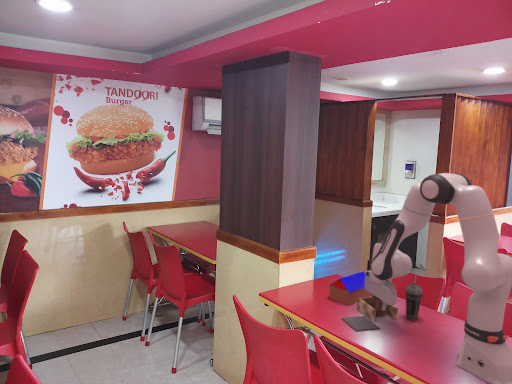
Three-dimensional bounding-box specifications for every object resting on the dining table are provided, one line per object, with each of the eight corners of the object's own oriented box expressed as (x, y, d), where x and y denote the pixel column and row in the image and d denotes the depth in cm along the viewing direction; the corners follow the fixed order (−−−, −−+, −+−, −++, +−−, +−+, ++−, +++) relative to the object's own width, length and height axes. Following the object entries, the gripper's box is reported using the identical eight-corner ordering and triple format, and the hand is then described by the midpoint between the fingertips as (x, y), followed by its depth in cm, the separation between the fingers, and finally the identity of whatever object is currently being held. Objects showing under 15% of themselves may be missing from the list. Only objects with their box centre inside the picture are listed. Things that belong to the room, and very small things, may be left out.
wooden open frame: (397, 318, 182) (398, 308, 182) (373, 321, 179) (373, 310, 178) (379, 306, 195) (380, 296, 195) (357, 308, 192) (357, 298, 191)
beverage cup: (401, 319, 182) (405, 275, 180) (404, 313, 189) (408, 270, 186) (419, 323, 179) (423, 278, 177) (421, 317, 185) (425, 273, 183)
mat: (379, 329, 171) (379, 327, 171) (356, 331, 168) (356, 330, 168) (364, 317, 183) (364, 315, 183) (341, 319, 180) (342, 317, 180)
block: (386, 316, 184) (387, 299, 183) (376, 317, 183) (377, 300, 182) (379, 312, 189) (381, 295, 188) (370, 313, 188) (371, 295, 187)
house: (372, 296, 208) (374, 274, 207) (348, 306, 195) (350, 282, 193) (352, 289, 217) (353, 268, 216) (328, 298, 204) (329, 275, 202)
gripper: (401, 284, 175) (399, 316, 177) (375, 269, 194) (372, 298, 196) (388, 285, 173) (386, 317, 175) (363, 270, 192) (360, 299, 194)
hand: (378, 307), depth 186 cm, fingers closed on block, 5 cm apart
